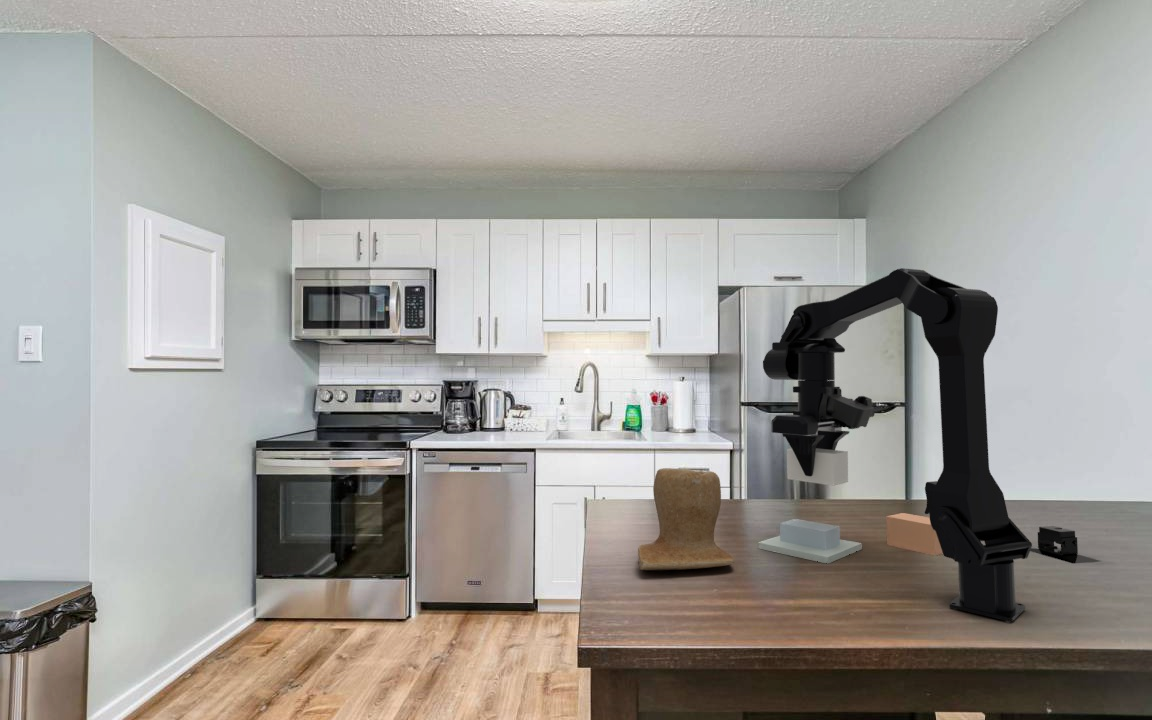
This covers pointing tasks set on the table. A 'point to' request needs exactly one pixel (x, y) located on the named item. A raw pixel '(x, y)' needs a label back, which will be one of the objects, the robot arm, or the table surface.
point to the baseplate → (810, 551)
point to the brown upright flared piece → (685, 522)
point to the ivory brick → (821, 467)
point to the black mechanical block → (1067, 542)
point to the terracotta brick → (912, 533)
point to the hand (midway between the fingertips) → (816, 474)
